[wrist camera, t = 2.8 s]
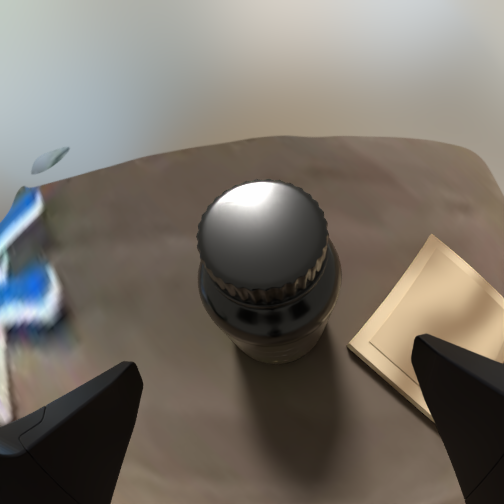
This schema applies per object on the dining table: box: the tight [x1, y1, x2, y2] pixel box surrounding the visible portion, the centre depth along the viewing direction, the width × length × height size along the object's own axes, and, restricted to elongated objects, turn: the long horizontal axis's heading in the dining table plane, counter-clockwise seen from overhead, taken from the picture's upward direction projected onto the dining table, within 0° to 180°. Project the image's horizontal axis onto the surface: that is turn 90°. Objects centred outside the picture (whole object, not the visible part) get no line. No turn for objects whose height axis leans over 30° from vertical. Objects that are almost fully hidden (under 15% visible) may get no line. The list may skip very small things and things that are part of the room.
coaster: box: [347, 234, 504, 423], centre depth 18 cm, size 12×12×1 cm
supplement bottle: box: [197, 179, 342, 364], centre depth 16 cm, size 7×7×12 cm
